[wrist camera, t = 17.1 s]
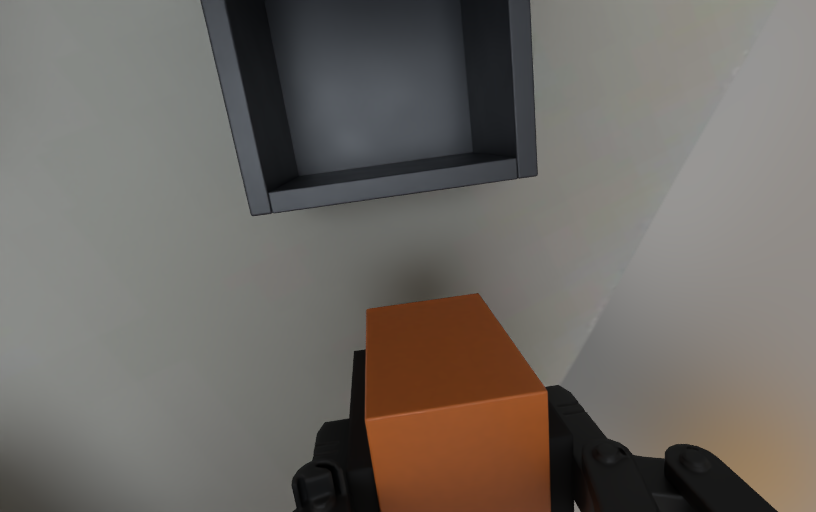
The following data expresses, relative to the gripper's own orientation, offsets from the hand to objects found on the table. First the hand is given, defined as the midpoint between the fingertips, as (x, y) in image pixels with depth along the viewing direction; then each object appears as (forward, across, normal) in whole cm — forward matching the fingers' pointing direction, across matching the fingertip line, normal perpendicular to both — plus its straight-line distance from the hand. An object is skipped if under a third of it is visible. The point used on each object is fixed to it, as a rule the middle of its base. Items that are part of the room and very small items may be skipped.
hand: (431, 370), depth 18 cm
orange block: (0, 0, 0) cm, 0 cm away
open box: (+11, 0, -14) cm, 18 cm away
